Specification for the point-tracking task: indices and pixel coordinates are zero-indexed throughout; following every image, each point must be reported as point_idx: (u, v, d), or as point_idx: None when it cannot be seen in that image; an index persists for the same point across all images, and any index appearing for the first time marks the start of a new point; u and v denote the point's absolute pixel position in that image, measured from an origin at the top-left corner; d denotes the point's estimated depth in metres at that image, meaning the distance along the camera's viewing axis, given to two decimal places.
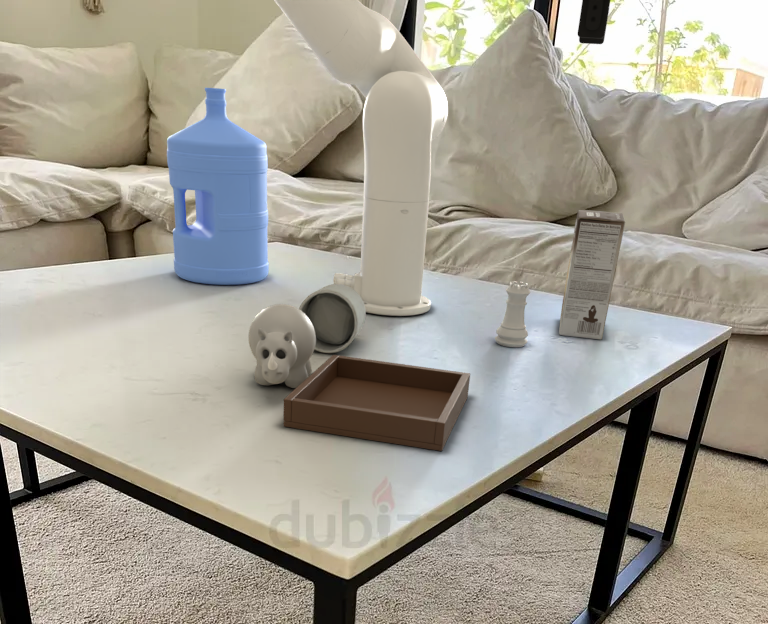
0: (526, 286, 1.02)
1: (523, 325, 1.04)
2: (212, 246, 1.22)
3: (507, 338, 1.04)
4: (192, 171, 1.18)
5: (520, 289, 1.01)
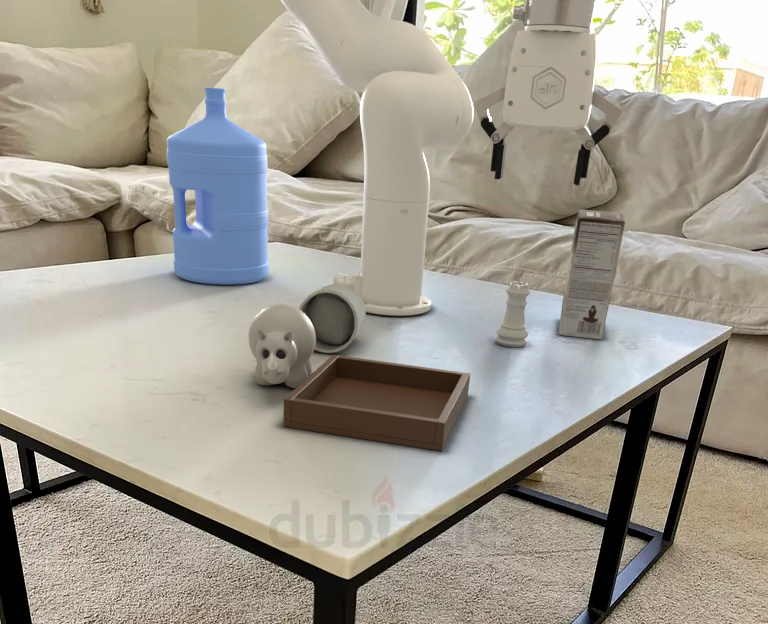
0: (526, 286, 1.02)
1: (523, 325, 1.04)
2: (212, 245, 1.22)
3: (507, 338, 1.04)
4: (191, 171, 1.18)
5: (520, 289, 1.01)
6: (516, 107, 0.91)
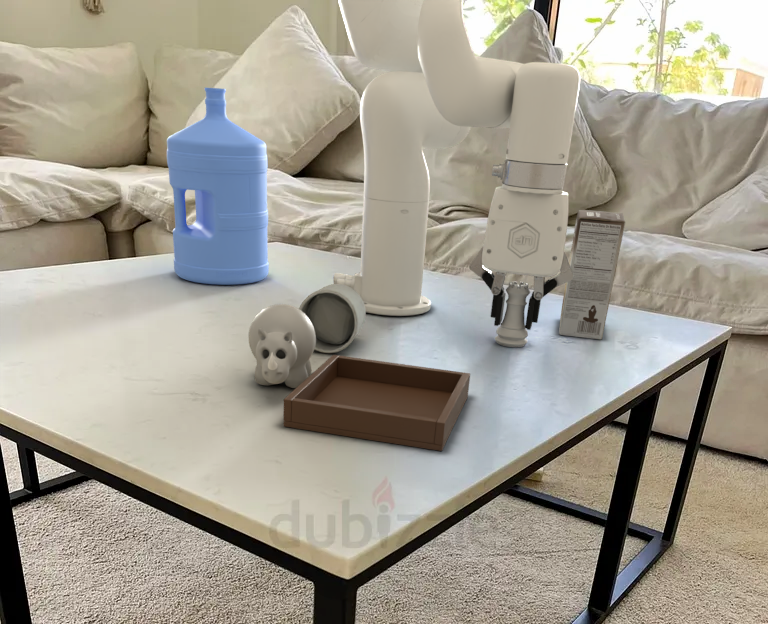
0: (526, 286, 1.02)
1: (523, 325, 1.04)
2: (212, 245, 1.22)
3: (507, 338, 1.04)
4: (191, 171, 1.18)
5: (520, 289, 1.01)
6: (494, 255, 0.99)
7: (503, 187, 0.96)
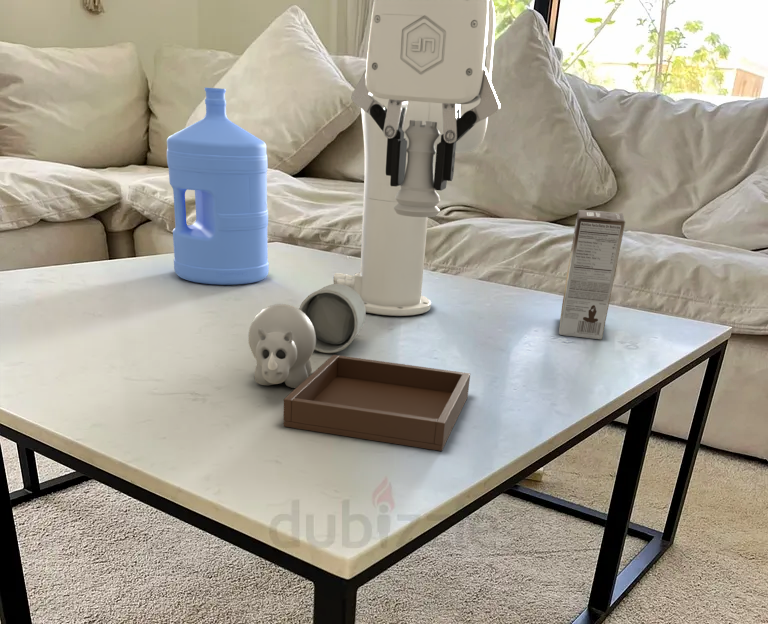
0: (433, 124, 0.70)
1: (432, 185, 0.73)
2: (212, 245, 1.22)
3: (409, 204, 0.73)
4: (191, 171, 1.18)
5: (424, 127, 0.70)
6: (382, 71, 0.67)
7: None
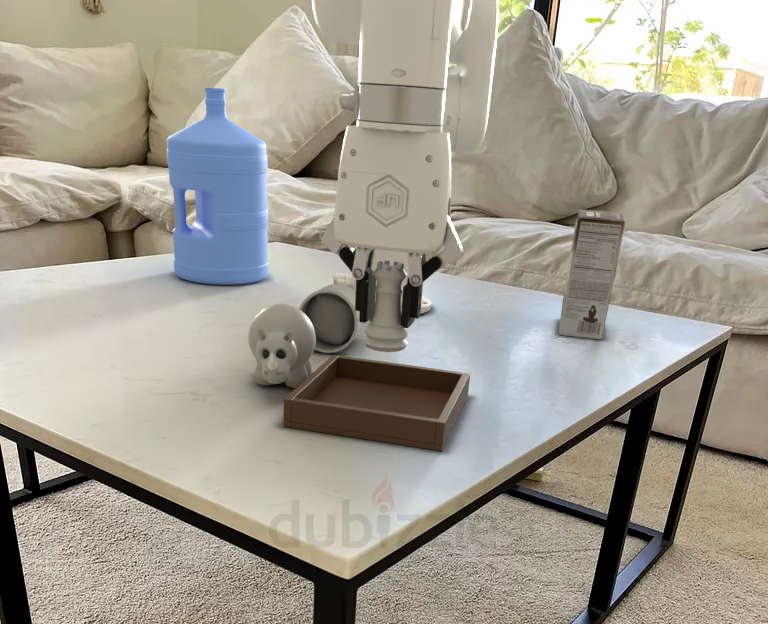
0: (400, 267, 0.73)
1: (399, 321, 0.75)
2: (212, 245, 1.22)
3: (377, 340, 0.75)
4: (191, 171, 1.18)
5: (391, 271, 0.73)
6: (349, 222, 0.70)
7: None
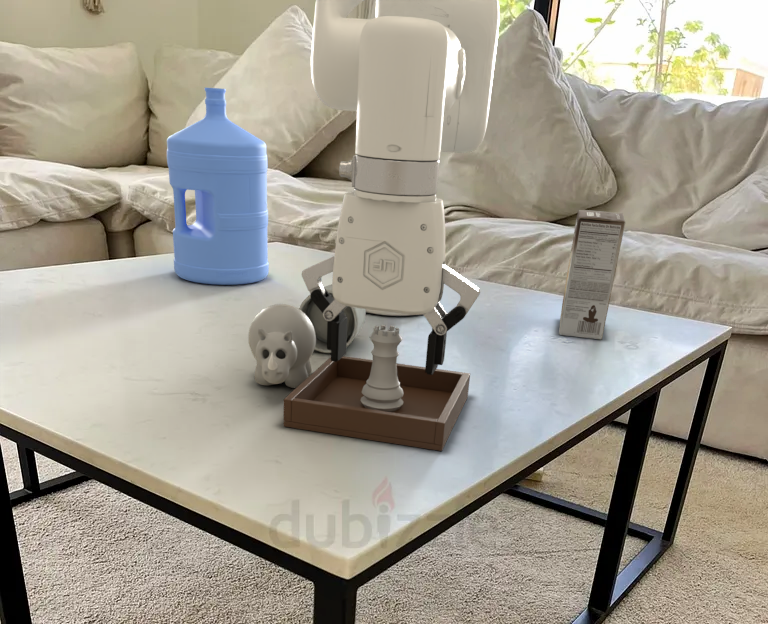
0: (395, 332, 0.76)
1: (395, 383, 0.78)
2: (212, 245, 1.22)
3: (374, 400, 0.78)
4: (191, 171, 1.18)
5: (387, 337, 0.76)
6: (347, 285, 0.73)
7: (354, 193, 0.70)
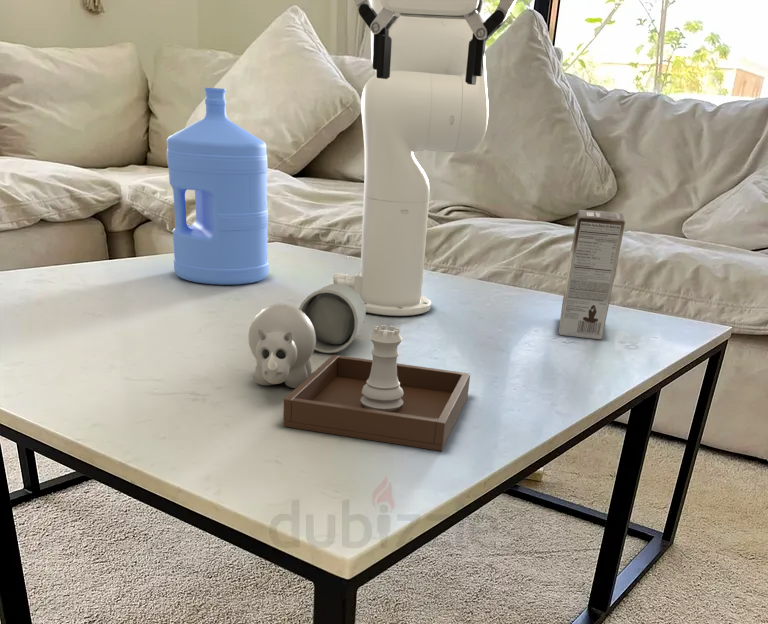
0: (395, 332, 0.76)
1: (395, 383, 0.78)
2: (212, 245, 1.22)
3: (374, 400, 0.78)
4: (191, 171, 1.18)
5: (387, 337, 0.76)
6: None
7: None
